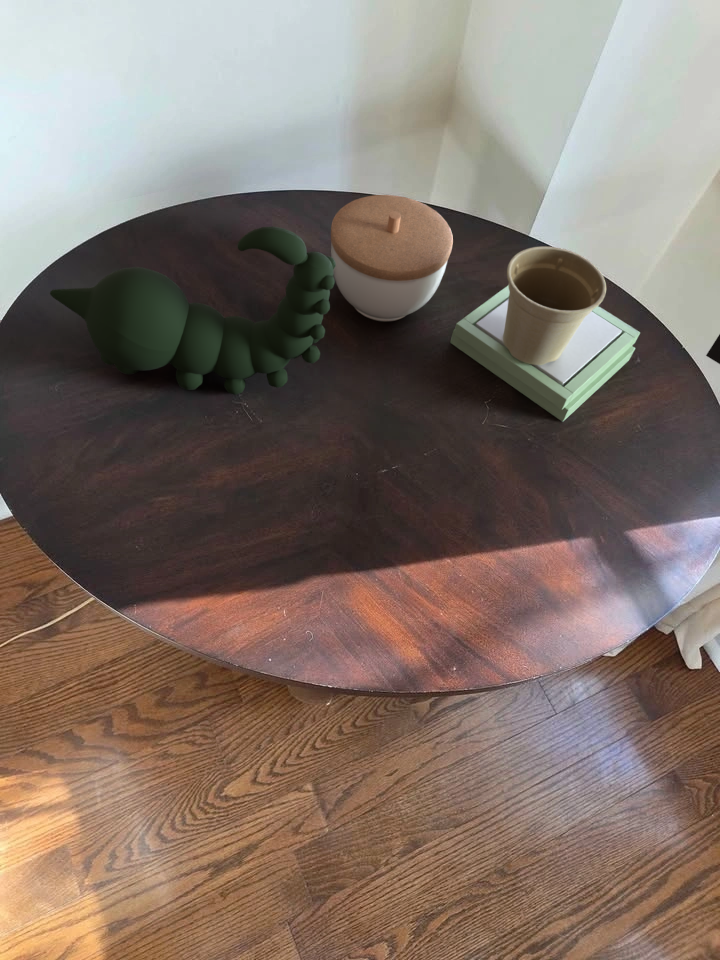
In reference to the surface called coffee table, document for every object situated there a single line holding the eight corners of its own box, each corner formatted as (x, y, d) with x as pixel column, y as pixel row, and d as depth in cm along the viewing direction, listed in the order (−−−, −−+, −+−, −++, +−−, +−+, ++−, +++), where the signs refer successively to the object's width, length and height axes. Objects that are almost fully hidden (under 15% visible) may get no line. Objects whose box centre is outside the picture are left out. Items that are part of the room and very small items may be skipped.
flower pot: (479, 311, 82) (499, 243, 75) (565, 313, 83) (593, 246, 76) (494, 377, 77) (517, 311, 70) (586, 378, 78) (618, 313, 71)
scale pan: (617, 341, 84) (622, 330, 82) (558, 393, 78) (563, 383, 77) (533, 287, 87) (537, 276, 86) (472, 334, 82) (475, 323, 81)
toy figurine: (314, 356, 83) (72, 323, 80) (343, 206, 68) (46, 156, 64) (309, 425, 78) (49, 391, 74) (340, 277, 63) (15, 227, 59)
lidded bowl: (312, 323, 84) (317, 238, 75) (341, 252, 91) (349, 167, 82) (426, 350, 83) (445, 268, 74) (446, 276, 90) (466, 193, 81)
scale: (631, 357, 85) (644, 334, 83) (559, 425, 79) (570, 402, 76) (523, 287, 90) (531, 263, 88) (446, 345, 84) (452, 321, 81)
